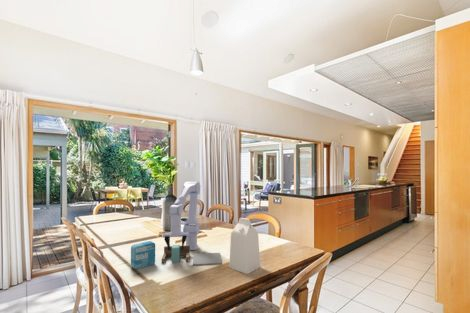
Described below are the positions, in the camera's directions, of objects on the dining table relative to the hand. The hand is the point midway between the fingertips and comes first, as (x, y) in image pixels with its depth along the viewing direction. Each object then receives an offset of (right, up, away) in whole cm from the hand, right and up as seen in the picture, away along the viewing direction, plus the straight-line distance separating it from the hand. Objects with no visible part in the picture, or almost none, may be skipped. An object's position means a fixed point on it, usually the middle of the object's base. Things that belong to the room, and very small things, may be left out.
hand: (175, 249), depth 143 cm
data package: (-16, -6, -7) cm, 19 cm away
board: (+18, -6, +1) cm, 19 cm away
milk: (+40, -6, -10) cm, 41 cm away
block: (0, -6, 0) cm, 6 cm away
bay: (0, -6, +2) cm, 7 cm away
